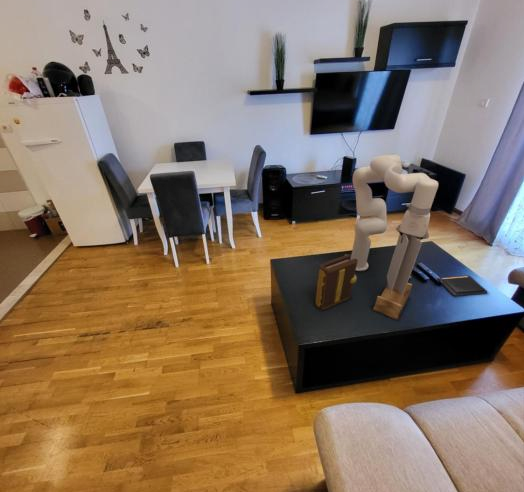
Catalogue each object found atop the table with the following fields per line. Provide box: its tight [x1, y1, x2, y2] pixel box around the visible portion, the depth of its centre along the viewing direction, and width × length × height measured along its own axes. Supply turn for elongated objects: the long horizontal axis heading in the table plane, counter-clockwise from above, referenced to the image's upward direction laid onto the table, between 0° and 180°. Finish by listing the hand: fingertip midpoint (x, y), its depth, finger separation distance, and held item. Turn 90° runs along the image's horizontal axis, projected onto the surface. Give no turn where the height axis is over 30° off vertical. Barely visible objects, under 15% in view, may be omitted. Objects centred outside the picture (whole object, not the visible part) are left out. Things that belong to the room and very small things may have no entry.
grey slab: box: [386, 234, 423, 296], centre depth 130 cm, size 14×6×30 cm, turn 166°
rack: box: [372, 282, 413, 321], centre depth 143 cm, size 12×20×9 cm, turn 142°
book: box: [314, 253, 358, 311], centre depth 141 cm, size 22×8×25 cm, turn 117°
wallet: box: [436, 275, 488, 297], centre depth 155 cm, size 20×2×15 cm
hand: (407, 246), depth 126 cm, fingers closed on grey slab, 3 cm apart
